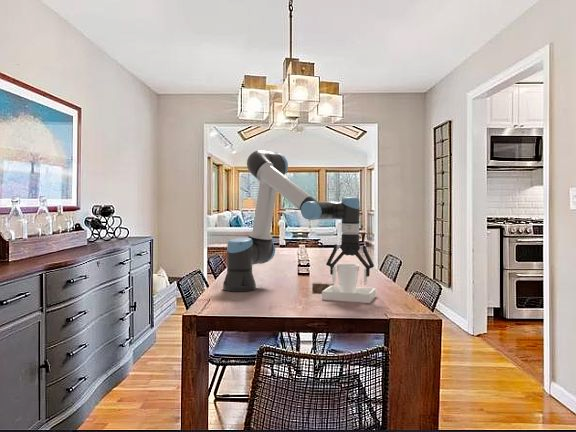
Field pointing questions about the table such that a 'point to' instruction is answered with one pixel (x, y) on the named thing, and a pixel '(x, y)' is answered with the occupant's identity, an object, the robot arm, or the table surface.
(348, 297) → the tray
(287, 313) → the table surface
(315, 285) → the walnut block
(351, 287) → the foam cup
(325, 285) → the walnut block
